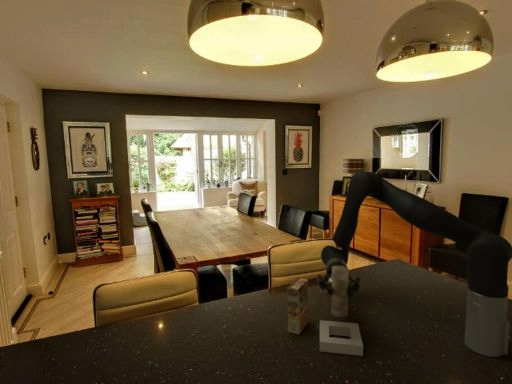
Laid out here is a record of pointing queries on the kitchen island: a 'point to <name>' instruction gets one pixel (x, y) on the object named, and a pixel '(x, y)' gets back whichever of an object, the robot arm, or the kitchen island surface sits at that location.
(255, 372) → the kitchen island surface
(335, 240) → the robot arm
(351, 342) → the socket block
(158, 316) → the kitchen island surface
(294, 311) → the candy box
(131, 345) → the kitchen island surface
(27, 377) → the kitchen island surface
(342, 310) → the peg
